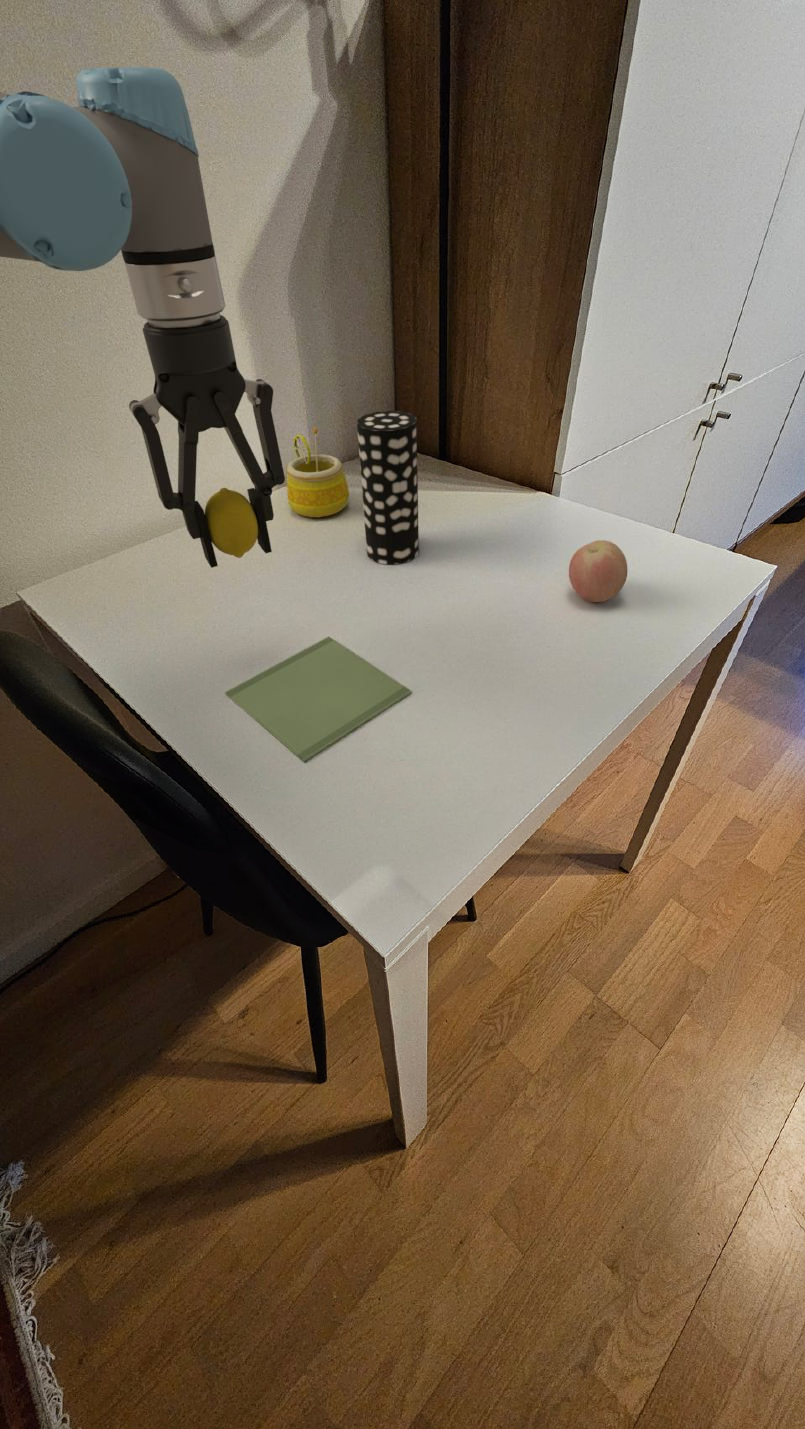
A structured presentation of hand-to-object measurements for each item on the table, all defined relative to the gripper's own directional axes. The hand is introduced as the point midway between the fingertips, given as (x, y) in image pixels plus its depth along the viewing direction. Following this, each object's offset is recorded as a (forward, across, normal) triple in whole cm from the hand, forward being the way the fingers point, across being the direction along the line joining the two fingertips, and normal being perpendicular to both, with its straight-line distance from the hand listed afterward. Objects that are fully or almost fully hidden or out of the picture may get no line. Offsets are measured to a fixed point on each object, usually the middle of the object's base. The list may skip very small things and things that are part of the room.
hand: (238, 554), depth 71 cm
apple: (+15, +46, -10) cm, 49 cm away
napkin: (+15, +4, -10) cm, 18 cm away
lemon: (+1, 0, 0) cm, 1 cm away
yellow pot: (+15, +24, +38) cm, 47 cm away
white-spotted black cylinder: (+15, +27, +16) cm, 35 cm away
